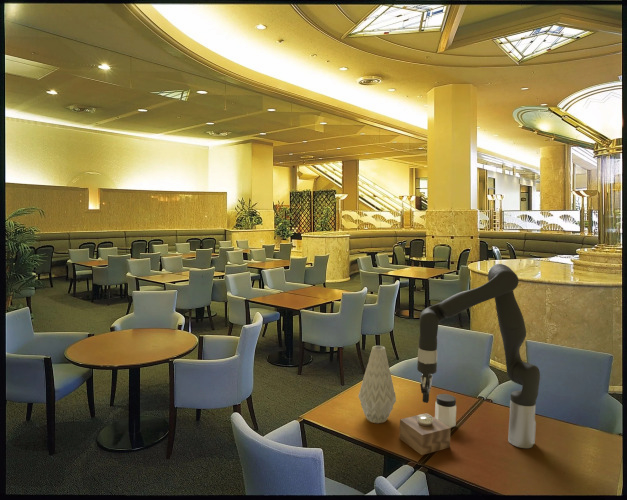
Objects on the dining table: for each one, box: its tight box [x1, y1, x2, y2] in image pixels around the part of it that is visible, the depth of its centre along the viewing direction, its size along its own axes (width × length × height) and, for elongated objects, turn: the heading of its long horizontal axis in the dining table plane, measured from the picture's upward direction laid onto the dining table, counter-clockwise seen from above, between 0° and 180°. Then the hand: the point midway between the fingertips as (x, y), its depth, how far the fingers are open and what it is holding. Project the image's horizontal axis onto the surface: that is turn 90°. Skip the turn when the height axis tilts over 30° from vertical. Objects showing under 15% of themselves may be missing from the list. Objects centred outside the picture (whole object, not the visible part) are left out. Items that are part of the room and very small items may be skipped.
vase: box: [358, 345, 397, 424], centre depth 197 cm, size 17×17×33 cm
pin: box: [417, 413, 434, 427], centre depth 178 cm, size 6×6×10 cm
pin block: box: [399, 412, 452, 456], centre depth 178 cm, size 14×14×8 cm
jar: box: [434, 393, 457, 429], centre depth 194 cm, size 9×8×12 cm
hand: (425, 401), depth 177 cm, fingers closed
